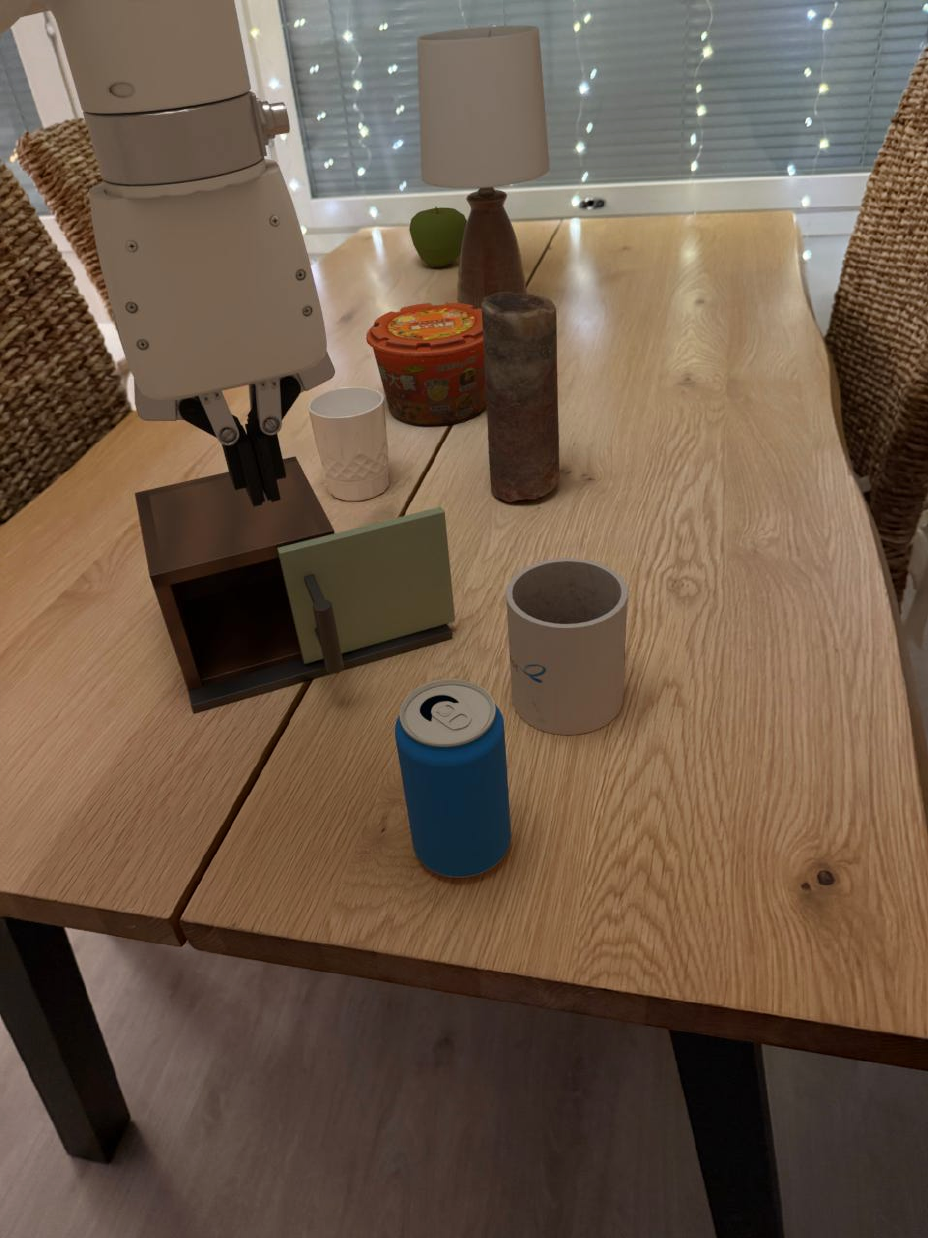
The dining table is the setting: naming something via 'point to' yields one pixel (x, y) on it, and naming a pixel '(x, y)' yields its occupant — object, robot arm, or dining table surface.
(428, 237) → the apple
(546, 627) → the mug
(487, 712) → the beverage can
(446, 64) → the lamp
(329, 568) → the door
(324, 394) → the white cup
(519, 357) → the candle
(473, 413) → the food container
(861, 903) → the dining table surface
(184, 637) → the cabinet
